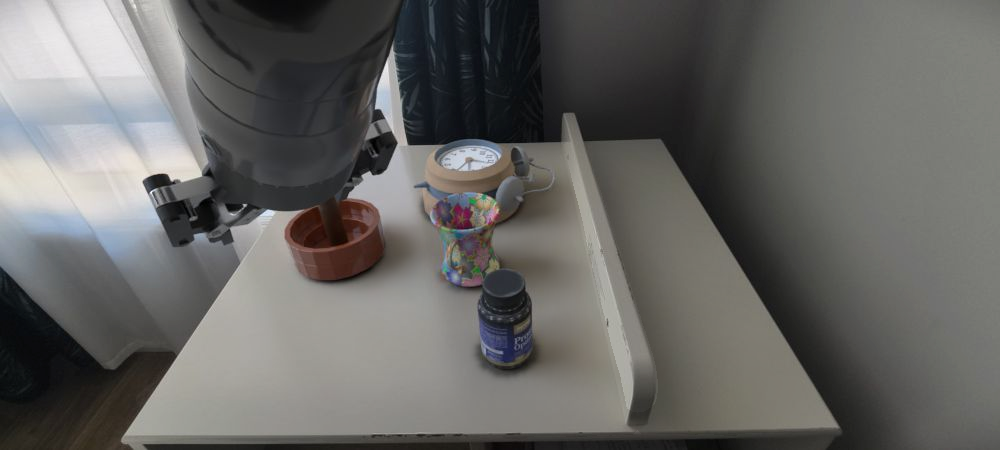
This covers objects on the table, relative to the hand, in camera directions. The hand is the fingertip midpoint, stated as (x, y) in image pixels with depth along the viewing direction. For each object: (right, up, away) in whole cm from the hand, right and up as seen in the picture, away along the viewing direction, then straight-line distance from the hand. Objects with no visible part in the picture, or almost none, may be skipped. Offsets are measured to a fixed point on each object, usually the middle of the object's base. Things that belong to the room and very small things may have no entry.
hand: (282, 209), depth 37 cm
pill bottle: (+17, -16, +22) cm, 33 cm away
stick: (-8, -5, +38) cm, 39 cm away
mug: (+12, -9, +33) cm, 36 cm away
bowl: (-8, -6, +38) cm, 40 cm away
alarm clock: (+15, +3, +49) cm, 51 cm away
